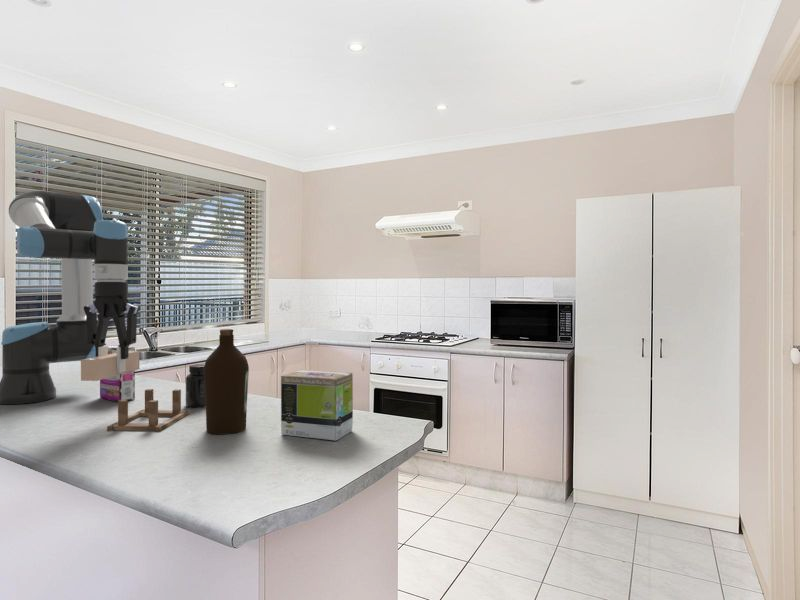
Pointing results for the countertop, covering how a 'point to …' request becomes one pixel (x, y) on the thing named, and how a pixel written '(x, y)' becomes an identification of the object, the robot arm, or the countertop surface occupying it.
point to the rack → (149, 414)
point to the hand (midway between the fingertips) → (112, 371)
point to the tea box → (317, 404)
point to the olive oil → (226, 387)
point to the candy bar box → (118, 383)
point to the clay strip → (106, 366)
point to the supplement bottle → (195, 387)
